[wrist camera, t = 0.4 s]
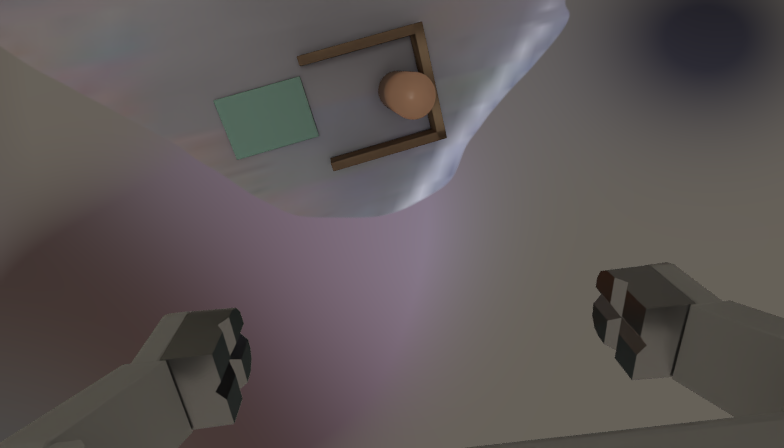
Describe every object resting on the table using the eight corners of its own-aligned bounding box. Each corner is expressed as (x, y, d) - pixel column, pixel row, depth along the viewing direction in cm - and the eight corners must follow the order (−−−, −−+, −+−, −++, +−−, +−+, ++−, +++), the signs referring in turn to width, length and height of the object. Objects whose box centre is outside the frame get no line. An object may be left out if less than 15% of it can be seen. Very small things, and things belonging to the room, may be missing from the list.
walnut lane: (297, 56, 49) (296, 56, 46) (416, 23, 50) (421, 21, 47) (332, 165, 54) (333, 171, 51) (440, 134, 55) (446, 137, 52)
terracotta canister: (373, 76, 51) (385, 79, 42) (410, 66, 51) (430, 66, 42) (383, 114, 53) (397, 124, 44) (419, 104, 53) (440, 112, 44)
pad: (214, 100, 49) (213, 100, 49) (299, 76, 50) (299, 76, 50) (237, 159, 52) (237, 159, 52) (318, 135, 52) (318, 136, 52)
